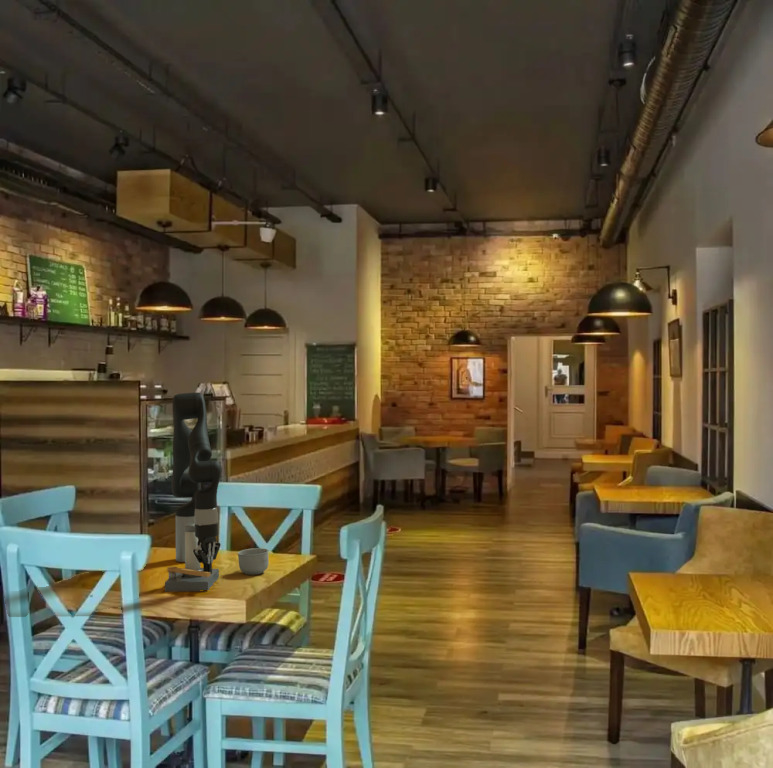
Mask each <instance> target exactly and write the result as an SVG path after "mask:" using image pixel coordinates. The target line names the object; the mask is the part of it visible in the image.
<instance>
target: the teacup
mask: <svg viewBox="0 0 773 768" xmlns="http://www.w3.org/2000/svg"><path fill="white" fill-rule="evenodd" d="M237 555H238V557H237V558H238V559H237V561H238V567H239V569H240V571H241V572H242V573H244V574H245V575H249V576H251V575H252V576H254V575H259V574H263V573H265V571H266V570H267V569H268V567H269V549H268V548H263V547H259V548H257V547H255V548H253V547H251V548H248V549H246V548H245V549H242V550H239V551H238V552H237Z"/></svg>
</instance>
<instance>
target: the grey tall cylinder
mask: <svg viewBox="0 0 773 768" xmlns="http://www.w3.org/2000/svg"><path fill="white" fill-rule="evenodd" d="M197 543H198V538H197V537H196V536H195V524H186V525H185V562H184V568H183V569H190V570H198V571H204V570H203V567H201V563H199V561H198V560H197V558H196V556H195V554H194V553H193V550H194V549H197V547H198V545H197ZM182 574H183V573H182ZM185 577H200V576H197V575H190V574H185Z"/></svg>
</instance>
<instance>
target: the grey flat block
mask: <svg viewBox="0 0 773 768" xmlns="http://www.w3.org/2000/svg"><path fill="white" fill-rule="evenodd" d="M218 577H220V569H219V568H212V574H211V576H209V577H204V576H200V577H185V574H182V573H176V572H168V578H167V580H165V582H164V592H201V591H200V590H209V591H210V589H211V588H212V587H213V585H214V584H215V583H216V582H217V580H218V579H219V578H218ZM215 581H216V582H215ZM214 582H215V583H214ZM213 583H214V584H213ZM211 586H212V587H211ZM210 587H211V588H210ZM209 588H210V589H209Z"/></svg>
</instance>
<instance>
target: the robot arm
mask: <svg viewBox="0 0 773 768" xmlns="http://www.w3.org/2000/svg"><path fill="white" fill-rule="evenodd" d="M206 405H207V404H206V402H205V397H204V395H203V394H202V393H201V392H197V391H196V392H184V393H177V394H175V395H174V396H173V398H172V405H171V406H172V421H173V422H172V423H173V437H172V475H171V492H172V495H173V497H175V498H178V499H179V498H180V499H181V498H183V499H184V498H191V500H189V502H187V503H184V504H183V505H180V506H178V507H176V509H175V562H177V563H178V562H180V563H185V525H186V524H195V536H196V537H197V538H198V543H197V545H198V547H197V549H194V550H193V553H194V554H195V556H196V558H197V560H198V561H199V563H200V564H202V565H203V567H202V568H203V570H204V571H205V572H211V574H212V569H213V562H214V560H216V559H217V556H218V554H219V550H220V547H221V542H217V538H216V537H218V535H219V513H218V501H217V500H218V499H217V498H218V497H217V495H218V489H219V488H218V487H219V484H220V480H221V476H222V466H221V463H220V462H219V461H217V460H215V459H214V460H211V458H212V455H213V453H212V447H211V444H210V439H209V432H208V430H209V429H208V418H207V407H206ZM195 419H197V421H196V423H195V425H194V427H193V429H191V428H190V427H189V426H188V425H187V423H185V421H186V420H195ZM187 469H188V473H186V472H185V471H186V470H187ZM203 483H209V484H208V486H207V487H205V488H203V489H202V487H201V485H202V484H203Z"/></svg>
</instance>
